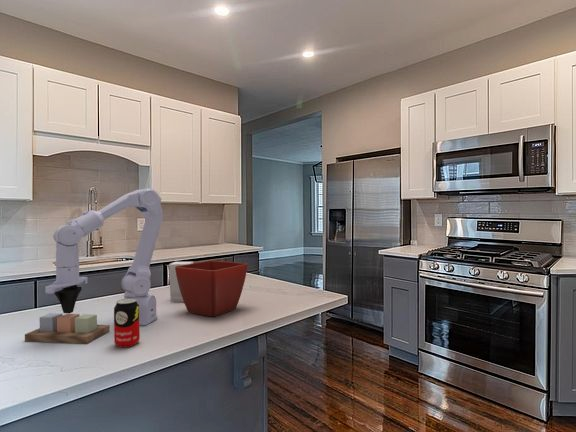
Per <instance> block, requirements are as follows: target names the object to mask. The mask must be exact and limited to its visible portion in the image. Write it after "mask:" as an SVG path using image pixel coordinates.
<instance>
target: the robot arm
mask: <svg viewBox="0 0 576 432" xmlns="http://www.w3.org/2000/svg"><path fill="white" fill-rule="evenodd" d="M161 202H162V197H161V196H160V195H159V193H158V191H156V189H154V188H144V189H143V188H142V189H135V190H133V191H131V192H128V193H125V194H123V195H122V196H120V197H119V198H117V199H116V200H114V201H112V202H111V203H109V204H107V205H106V206H104V207H102V208H101V209H99V210H91V209H90V210H89V211H88V210H84V211H83V212H82V214H81V215H80V216H78V217H76V218H74V219H73V220H72V219H70V220H68V221H67V225H65V224H63V225H61V226H59V227H57V228H56V230H55V231H54V234H53V236H52V237H53V240H54V241H55V245H56V246H55V249H56V251H55V272H56V273H55V280H54V281H53V282H52V283H51V284H49V285H46V286H45V288H44V289H45V290H44V291H45V294H47V295H48V294H54V295H55V296H56V298H57V300H58V302H59V304H60V307H61V310H62V312H63V313H62V314H73V312H74V309H75V306H76V302H77V299H78V297H79V295H80V293H81V291H82V290H83V289H82V286H79V285H82V284H83V285H84V284H85V285H87V284H88V282H89V281H88V276H80V251H79V243H80V242H81V240H82V238H85V237H87V236H89V235H90V234H92V233H94V232H95V231H96V230H98V229H100V228H102V227H103V225H104V222H105V220H107V219H108V218H110V217H112V216H114V215H117V214H118V213H120V212H122V211H123V210H126V209H127V208H136V209H137V210H139V212H140V213H141V214H142V216H143V217H144V218H145V220H144V222H143V223H144V224H143V227H142V230H141V232H140V233H141V234H140V237H139V240H138V244H137V248H136V250H135V251H136V252H135V254H134V258H133V261H132V264H131V265H130V266H129V267H128V269H127V272H126V274H125V275H124V276H123V277H122V279H121V287H122V288H123V290H124V291H125V292H124V295H123V297H124V298H123V299H128V298H133V299H137V303H138V305H139V326H147V325H149V324H150V323H152V322H153V321H155V320H157V319H158V316H157V298H156V296H155V295H154V294H149V291H150V290H151V286H152V283H151V276H152V273H151V269H150V267H151V266H150V265H151V263H152V259H153V255H154V251H155V248H156V245H157V241H158V237H159V233H160V230H161V227H162V224H163V220H164V214H163V208H162V203H161Z"/></svg>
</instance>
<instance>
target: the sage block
mask: <svg viewBox="0 0 576 432" xmlns="http://www.w3.org/2000/svg"><path fill="white" fill-rule="evenodd" d="M97 325H98V314H91V313H90V314H88V313H85V314H82V315H81V314H80V316H79V317H77V318H75V333H90V332H92V331H94V330H96V329H97Z"/></svg>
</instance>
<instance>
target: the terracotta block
mask: <svg viewBox="0 0 576 432" xmlns="http://www.w3.org/2000/svg"><path fill="white" fill-rule="evenodd" d="M79 316H81V314H80V313H64V314H63V316H60V317H58V318H57V332H69V333H71V332H73V331H75V318H77V317H79Z"/></svg>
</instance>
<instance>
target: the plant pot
mask: <svg viewBox="0 0 576 432" xmlns="http://www.w3.org/2000/svg"><path fill="white" fill-rule="evenodd" d="M175 270H176V276H177V280H178V285H179V288H180V292H181V295H182V298H183V301H184V302H183V303H184V305H185V307H186V311H187V312H188V313H191V314H197V315H202V316H206V317H207V316H208V317H216V316H219V315H220V316H221V315H222V314H224V313H228V312H232V311H234V310H236V309H237V307H238V304H239V301H240V299H241V295H242V292H243V289H244V286H245V282H246V281H245V280H246V276H247V271H248V263H245V262H234V261H220V260H207V261H205V260H204V261H200V262H193V264H187V265H181V266H176V267H175Z"/></svg>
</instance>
